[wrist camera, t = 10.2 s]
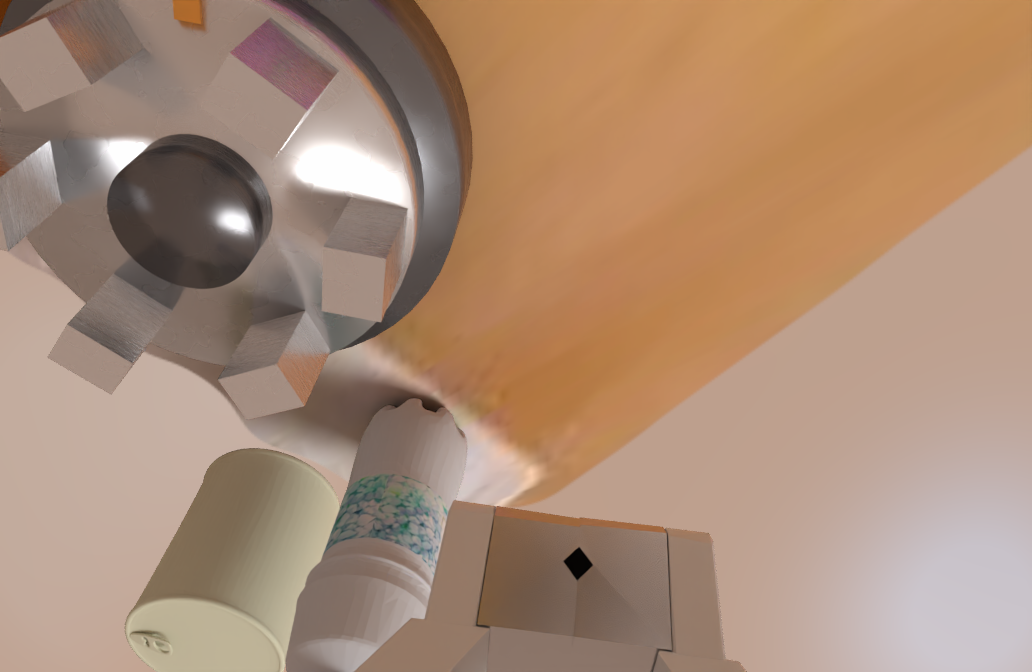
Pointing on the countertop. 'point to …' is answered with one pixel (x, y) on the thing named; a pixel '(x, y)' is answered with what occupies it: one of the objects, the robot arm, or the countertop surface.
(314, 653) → the bottle
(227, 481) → the can
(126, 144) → the toothed metal gear
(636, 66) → the countertop surface
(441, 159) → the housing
